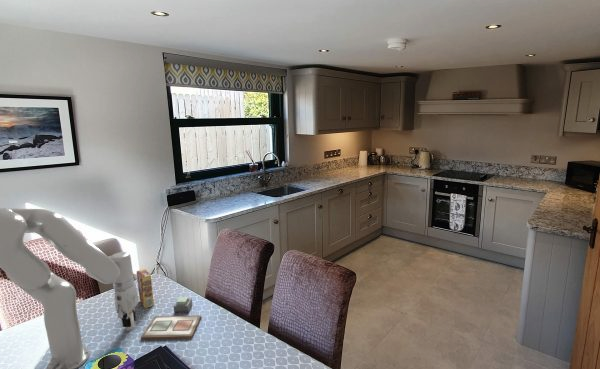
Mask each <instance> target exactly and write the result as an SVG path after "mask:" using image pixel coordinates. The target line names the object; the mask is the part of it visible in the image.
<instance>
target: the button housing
mask: <svg viewBox="0 0 600 369" xmlns="http://www.w3.org/2000/svg"><path fill="white" fill-rule="evenodd" d="M188 299H189V301H188V303H187V305H177V301H175V303H174V305H173V314H189V312H190V310H191V309H192V307H193V298H189V297H188Z"/></svg>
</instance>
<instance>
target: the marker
mask: <svg viewBox="0 0 600 369" xmlns="http://www.w3.org/2000/svg"><path fill="white" fill-rule="evenodd" d="M123 315H126V313H123ZM129 318H130V320H131V327H124V329H125V330H126V332H127V331H133V330H134V329H135V328H136V325H135V321H134V317H133V310H131V311H130V312H129Z"/></svg>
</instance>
